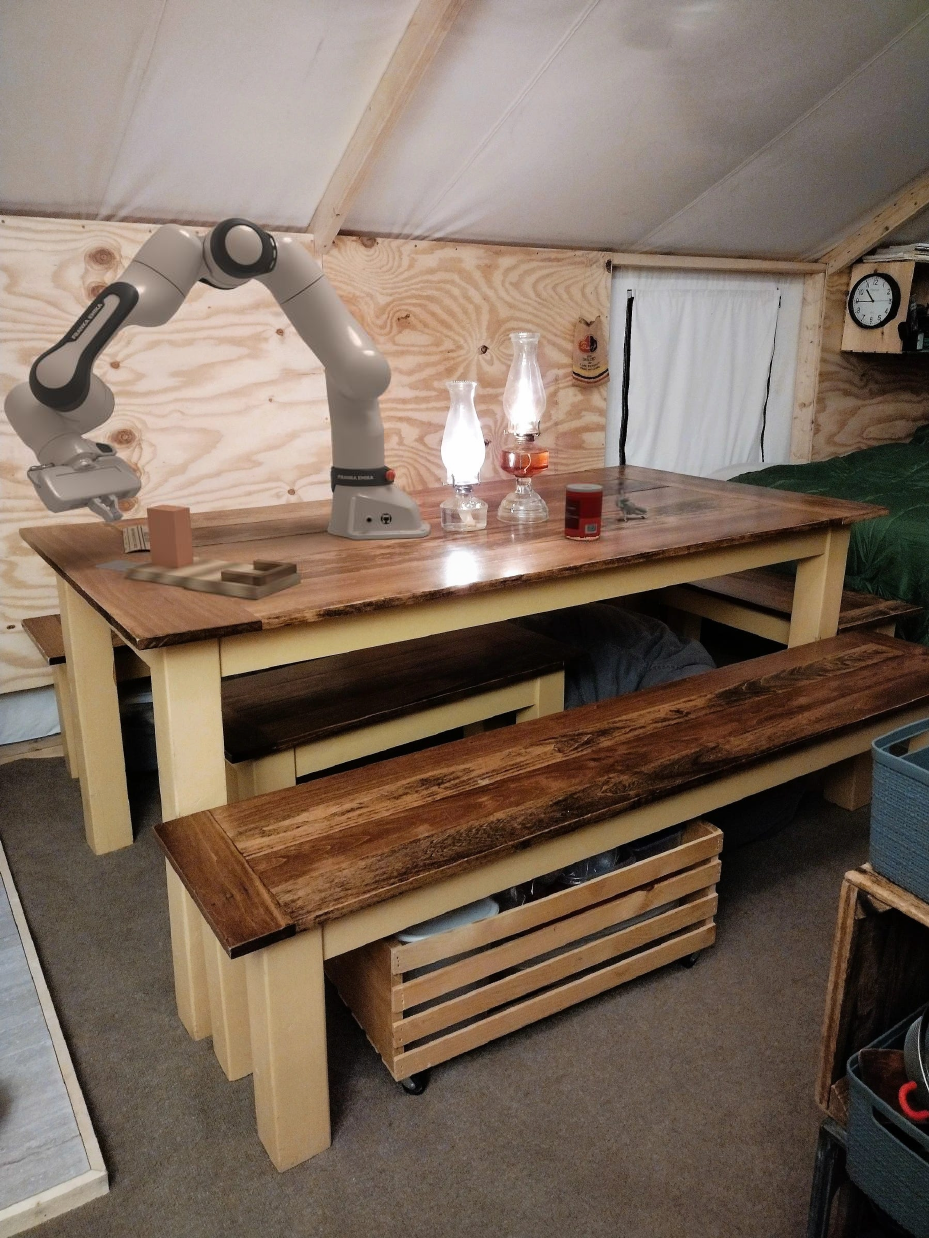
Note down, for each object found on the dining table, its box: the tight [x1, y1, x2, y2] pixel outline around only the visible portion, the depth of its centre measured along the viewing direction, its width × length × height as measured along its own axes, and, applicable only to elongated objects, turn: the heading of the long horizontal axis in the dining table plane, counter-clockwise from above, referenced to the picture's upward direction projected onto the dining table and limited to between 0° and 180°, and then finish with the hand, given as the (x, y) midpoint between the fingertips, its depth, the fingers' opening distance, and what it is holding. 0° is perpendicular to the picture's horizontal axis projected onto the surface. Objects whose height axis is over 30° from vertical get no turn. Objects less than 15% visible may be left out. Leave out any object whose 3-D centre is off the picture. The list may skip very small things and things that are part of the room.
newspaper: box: [122, 525, 150, 554], centre depth 190 cm, size 24×7×2 cm, turn 21°
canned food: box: [563, 483, 604, 538], centre depth 197 cm, size 8×8×11 cm
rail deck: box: [125, 556, 302, 600], centre depth 160 cm, size 28×12×4 cm, turn 65°
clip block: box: [146, 504, 194, 568], centre depth 162 cm, size 6×4×10 cm, turn 65°
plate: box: [93, 559, 143, 573], centre depth 168 cm, size 8×6×1 cm
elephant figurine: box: [614, 489, 650, 519], centre depth 218 cm, size 10×6×9 cm
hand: (115, 519), depth 166 cm, fingers closed
